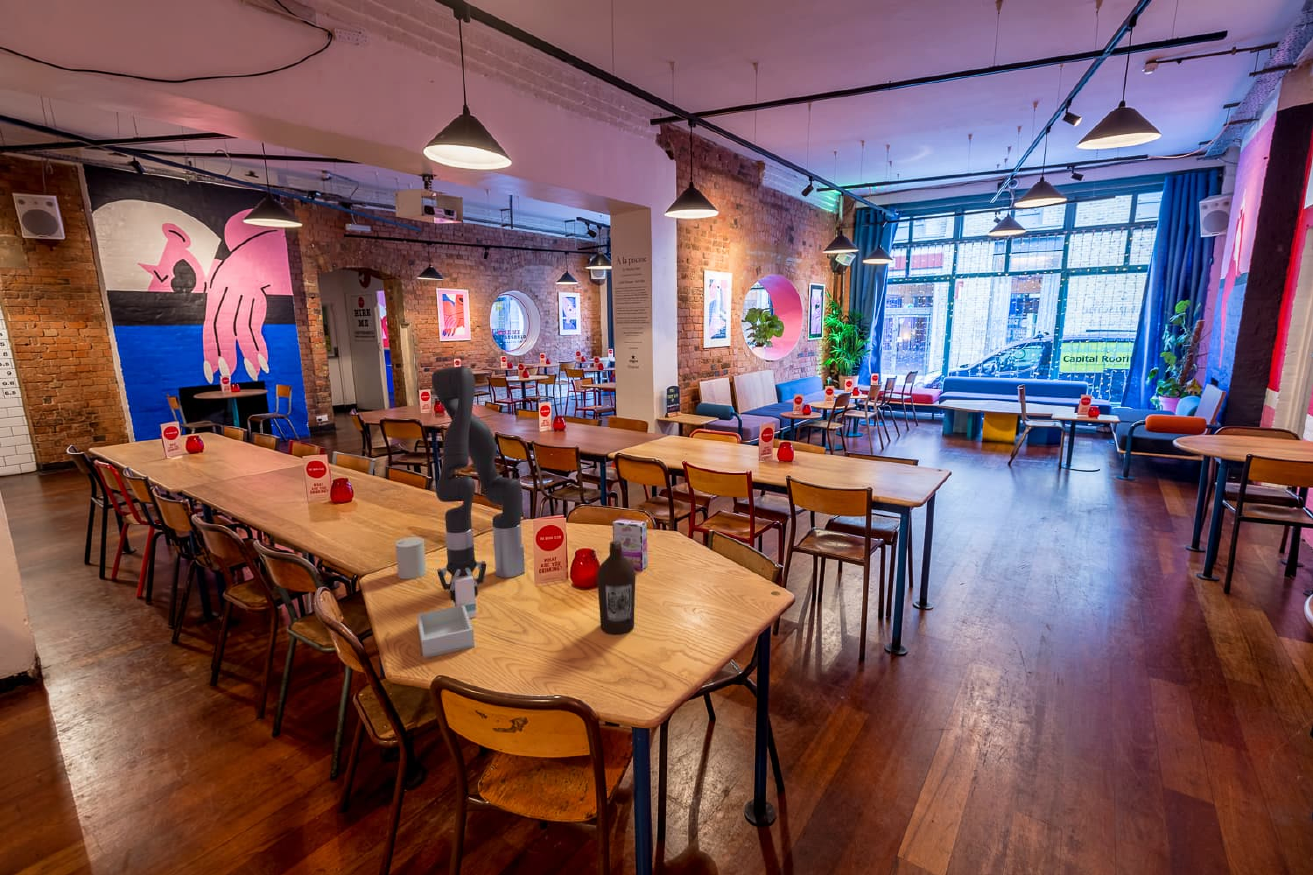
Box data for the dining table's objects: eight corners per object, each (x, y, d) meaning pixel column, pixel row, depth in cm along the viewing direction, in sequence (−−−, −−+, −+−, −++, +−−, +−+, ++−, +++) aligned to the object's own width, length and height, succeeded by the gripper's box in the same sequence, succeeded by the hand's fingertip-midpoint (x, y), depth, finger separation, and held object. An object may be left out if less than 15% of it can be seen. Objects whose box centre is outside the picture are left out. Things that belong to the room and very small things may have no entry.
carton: (472, 605, 181) (469, 567, 179) (476, 616, 174) (473, 578, 172) (454, 608, 179) (451, 571, 177) (458, 620, 172) (455, 581, 170)
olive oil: (596, 620, 172) (593, 537, 167) (632, 615, 174) (631, 534, 169) (601, 638, 162) (598, 551, 157) (639, 634, 164) (638, 547, 159)
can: (397, 570, 207) (394, 537, 205) (426, 566, 210) (423, 534, 208) (397, 581, 199) (394, 547, 196) (427, 576, 202) (424, 542, 200)
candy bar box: (648, 566, 209) (647, 521, 206) (642, 571, 205) (641, 525, 202) (619, 561, 213) (618, 517, 210) (613, 566, 209) (612, 522, 206)
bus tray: (465, 620, 172) (464, 604, 171) (474, 646, 158) (473, 629, 157) (418, 630, 167) (417, 614, 166) (423, 658, 153) (422, 640, 152)
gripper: (483, 536, 179) (486, 589, 182) (432, 543, 173) (437, 598, 176) (487, 544, 172) (491, 599, 176) (435, 552, 166) (439, 609, 170)
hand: (464, 598), depth 176 cm, fingers closed on carton, 5 cm apart
